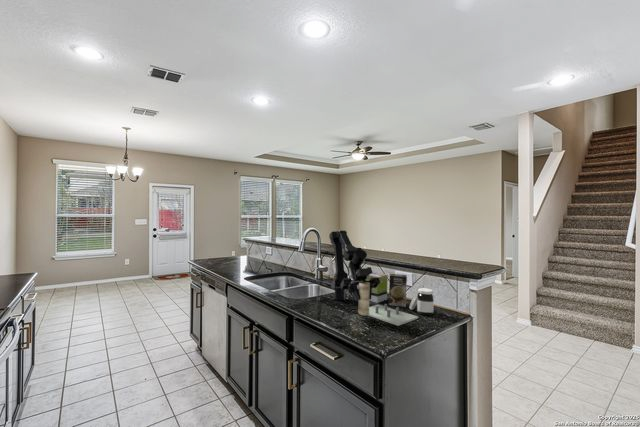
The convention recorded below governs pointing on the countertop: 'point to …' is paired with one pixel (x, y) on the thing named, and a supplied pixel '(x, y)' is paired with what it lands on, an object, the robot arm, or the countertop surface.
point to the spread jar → (423, 302)
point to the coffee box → (397, 290)
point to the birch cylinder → (364, 298)
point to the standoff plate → (390, 315)
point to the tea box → (378, 288)
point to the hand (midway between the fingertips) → (365, 299)
